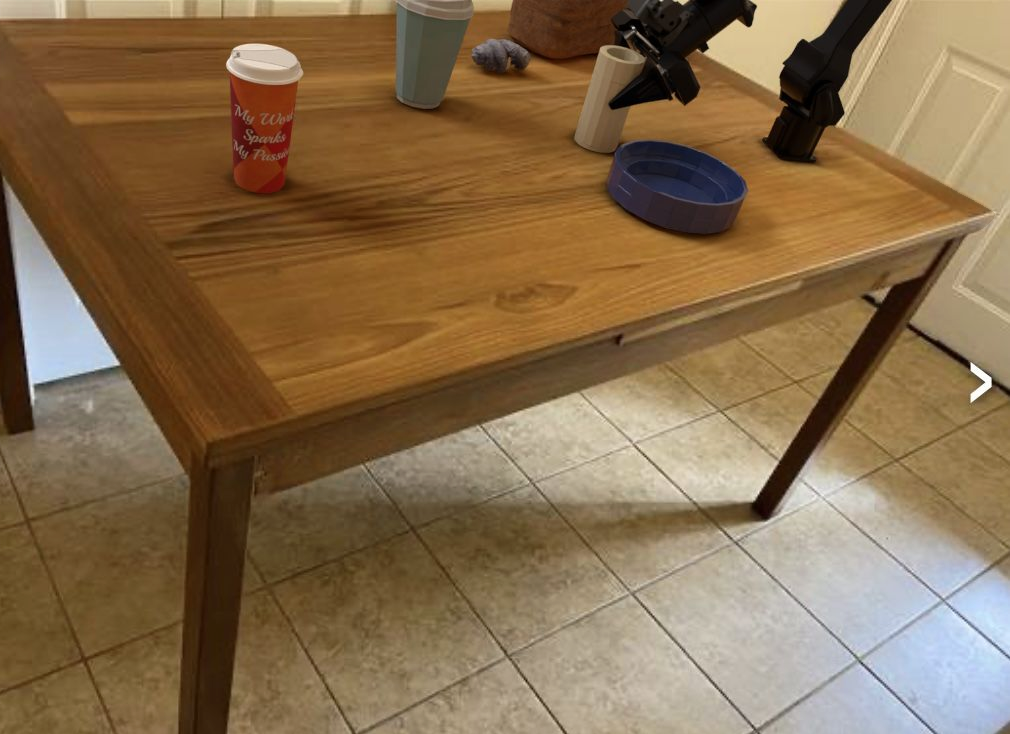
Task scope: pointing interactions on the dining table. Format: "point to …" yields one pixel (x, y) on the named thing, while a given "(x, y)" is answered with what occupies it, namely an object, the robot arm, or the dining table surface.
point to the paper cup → (262, 114)
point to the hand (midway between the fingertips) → (600, 96)
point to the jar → (607, 98)
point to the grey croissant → (500, 55)
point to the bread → (564, 25)
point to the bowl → (676, 186)
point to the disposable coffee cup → (428, 48)
